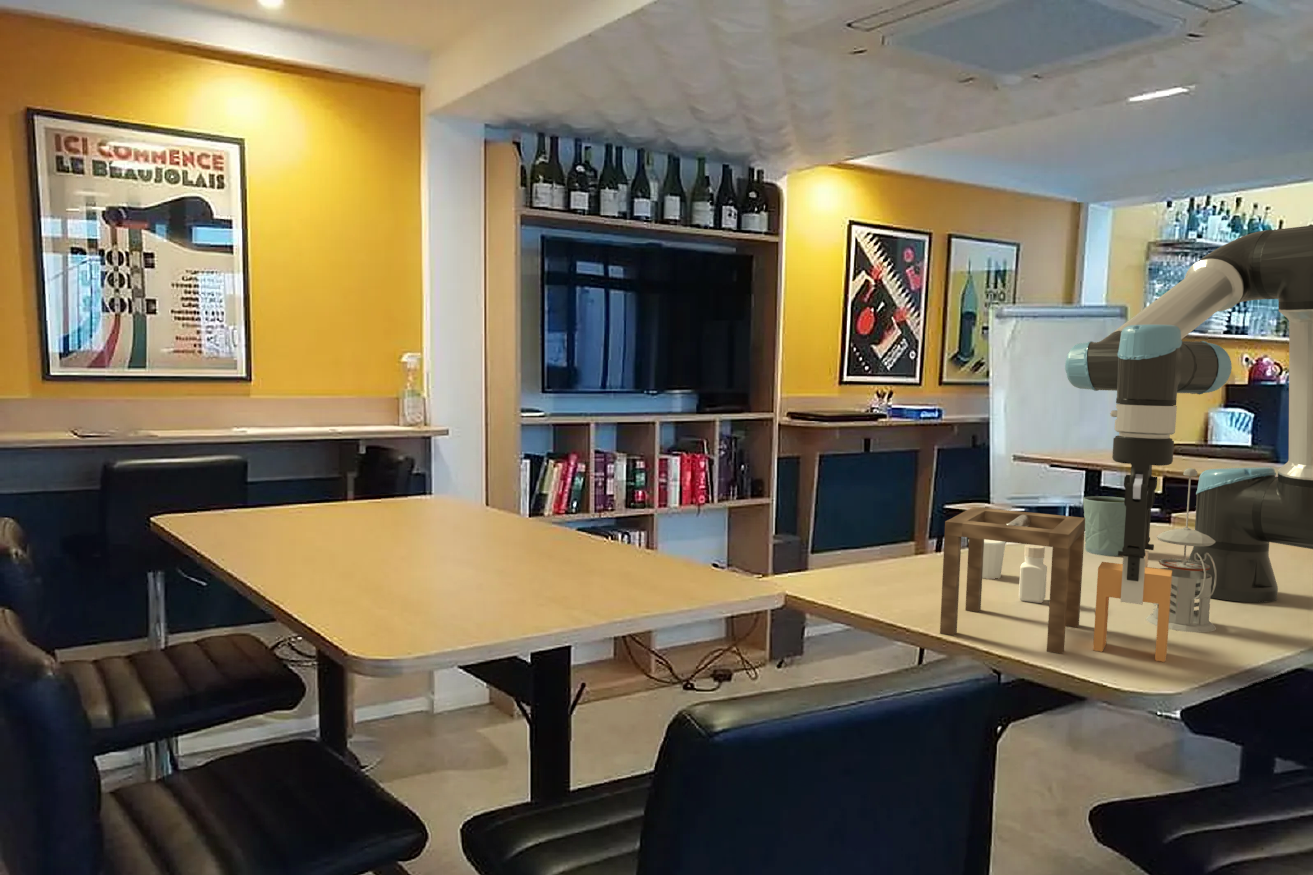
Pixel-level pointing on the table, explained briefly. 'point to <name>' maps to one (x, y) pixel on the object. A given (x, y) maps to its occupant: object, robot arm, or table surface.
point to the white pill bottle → (1033, 575)
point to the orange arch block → (1154, 592)
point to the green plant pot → (1104, 524)
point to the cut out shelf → (1025, 530)
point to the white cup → (992, 558)
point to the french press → (1188, 580)
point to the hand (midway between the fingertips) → (1133, 598)
